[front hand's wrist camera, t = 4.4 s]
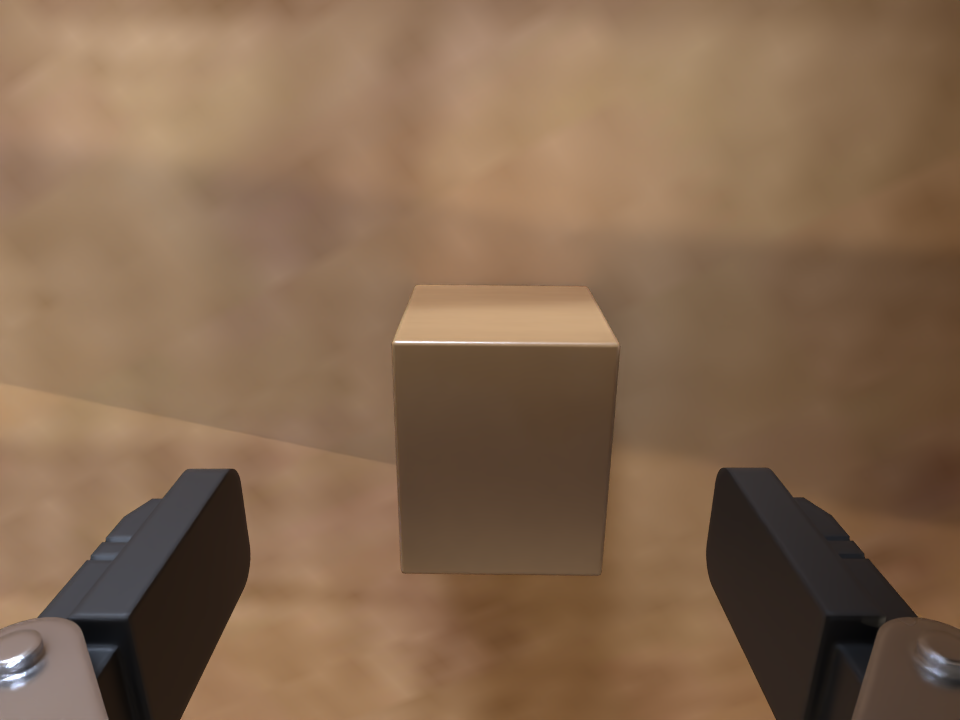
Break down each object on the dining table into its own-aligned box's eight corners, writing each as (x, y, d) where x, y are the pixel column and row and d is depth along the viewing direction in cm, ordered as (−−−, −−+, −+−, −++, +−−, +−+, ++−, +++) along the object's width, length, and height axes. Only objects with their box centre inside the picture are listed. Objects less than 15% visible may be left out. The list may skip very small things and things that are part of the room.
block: (414, 284, 16) (390, 340, 12) (588, 285, 16) (621, 343, 12) (419, 471, 18) (400, 574, 14) (576, 473, 18) (602, 577, 14)
